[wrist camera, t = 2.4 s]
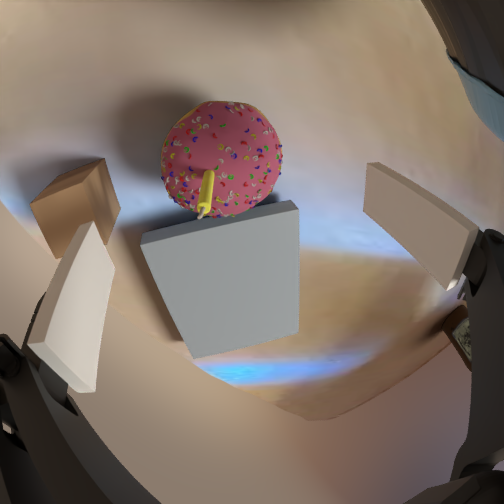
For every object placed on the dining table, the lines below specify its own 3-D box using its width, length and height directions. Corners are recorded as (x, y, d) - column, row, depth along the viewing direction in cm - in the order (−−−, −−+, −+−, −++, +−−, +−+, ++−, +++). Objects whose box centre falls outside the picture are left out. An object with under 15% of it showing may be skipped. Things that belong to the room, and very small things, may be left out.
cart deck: (143, 227, 24) (139, 245, 22) (287, 195, 26) (298, 209, 23) (191, 340, 35) (193, 358, 32) (290, 316, 36) (298, 332, 34)
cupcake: (180, 203, 24) (184, 297, 14) (151, 115, 18) (117, 145, 9) (271, 177, 24) (334, 251, 15) (254, 87, 19) (323, 93, 10)
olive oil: (467, 308, 59) (511, 366, 39) (443, 333, 63) (484, 393, 43) (463, 298, 54) (514, 364, 34) (437, 326, 57) (484, 395, 37)
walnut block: (58, 175, 19) (29, 204, 14) (104, 158, 19) (82, 182, 15) (76, 222, 22) (55, 259, 17) (120, 208, 22) (106, 244, 18)
